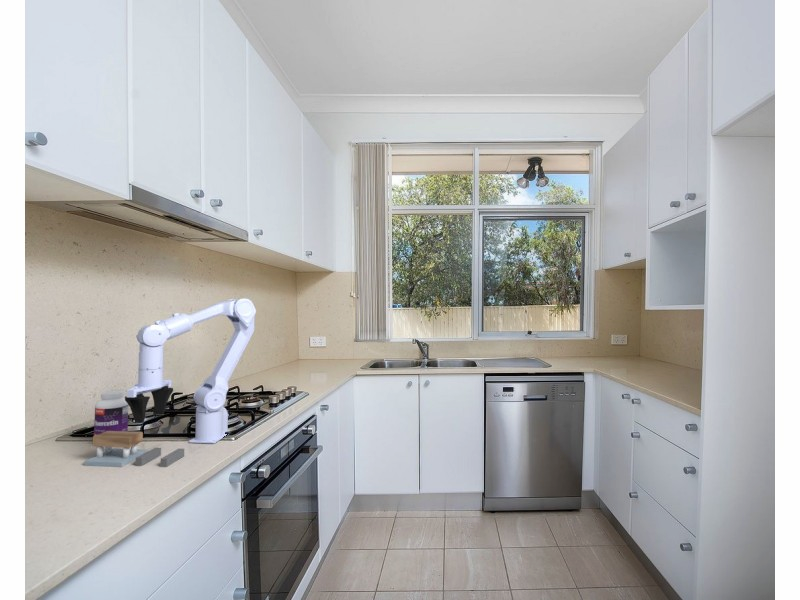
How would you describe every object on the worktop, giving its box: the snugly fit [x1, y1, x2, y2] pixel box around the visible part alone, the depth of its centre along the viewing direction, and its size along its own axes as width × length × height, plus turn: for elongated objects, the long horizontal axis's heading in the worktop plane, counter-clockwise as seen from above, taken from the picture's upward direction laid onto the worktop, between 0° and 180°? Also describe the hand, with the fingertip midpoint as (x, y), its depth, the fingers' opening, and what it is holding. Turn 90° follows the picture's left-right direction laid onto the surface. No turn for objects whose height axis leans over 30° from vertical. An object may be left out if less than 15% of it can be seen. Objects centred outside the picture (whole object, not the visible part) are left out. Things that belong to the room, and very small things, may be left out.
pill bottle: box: [93, 389, 129, 436], centre depth 114 cm, size 8×8×14 cm
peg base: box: [83, 444, 149, 468], centre depth 100 cm, size 9×10×4 cm
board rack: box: [135, 447, 185, 468], centre depth 100 cm, size 7×8×2 cm
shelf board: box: [92, 431, 144, 448], centre depth 100 cm, size 4×10×2 cm, turn 86°
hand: (149, 418), depth 105 cm, fingers open, 7 cm apart
